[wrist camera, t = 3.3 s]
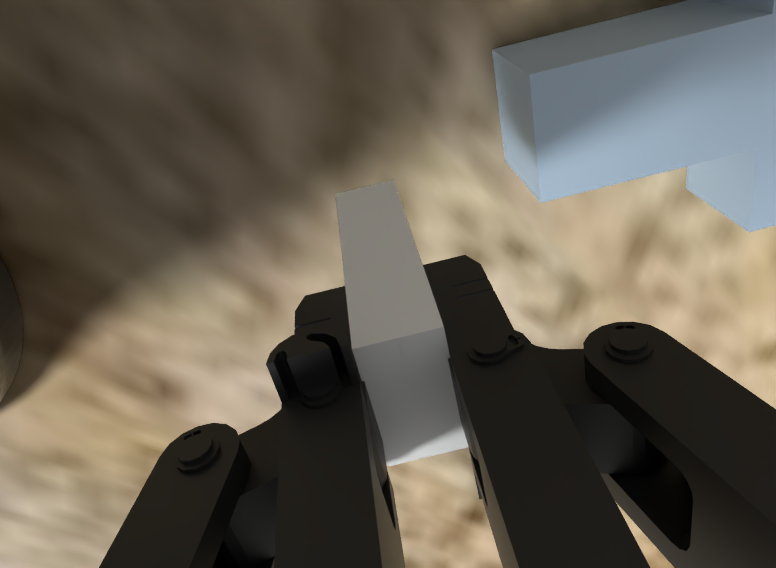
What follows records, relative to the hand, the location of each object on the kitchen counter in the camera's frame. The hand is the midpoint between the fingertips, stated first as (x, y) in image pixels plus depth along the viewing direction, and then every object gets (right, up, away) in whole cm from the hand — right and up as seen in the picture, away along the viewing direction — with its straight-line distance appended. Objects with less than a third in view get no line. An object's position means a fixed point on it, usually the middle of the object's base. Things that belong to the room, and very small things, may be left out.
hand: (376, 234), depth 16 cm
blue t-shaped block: (+9, +6, +6) cm, 12 cm away
